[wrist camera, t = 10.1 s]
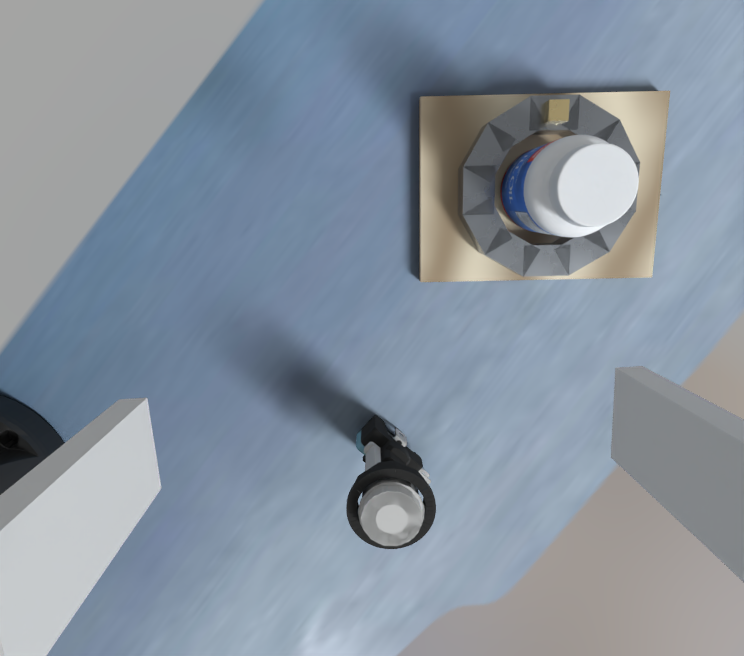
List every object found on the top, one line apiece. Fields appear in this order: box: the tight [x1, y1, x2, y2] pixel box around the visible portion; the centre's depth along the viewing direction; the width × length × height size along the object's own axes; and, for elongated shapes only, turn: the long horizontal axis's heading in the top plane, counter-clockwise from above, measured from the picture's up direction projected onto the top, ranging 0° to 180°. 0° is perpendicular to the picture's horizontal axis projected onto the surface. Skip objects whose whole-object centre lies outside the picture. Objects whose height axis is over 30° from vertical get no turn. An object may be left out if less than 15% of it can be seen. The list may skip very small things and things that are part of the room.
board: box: [419, 91, 670, 282], centre depth 35 cm, size 16×12×1 cm
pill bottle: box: [500, 135, 639, 237], centre depth 30 cm, size 6×5×10 cm
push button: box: [347, 415, 436, 549], centre depth 35 cm, size 7×5×10 cm
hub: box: [458, 94, 640, 277], centre depth 33 cm, size 11×11×3 cm
